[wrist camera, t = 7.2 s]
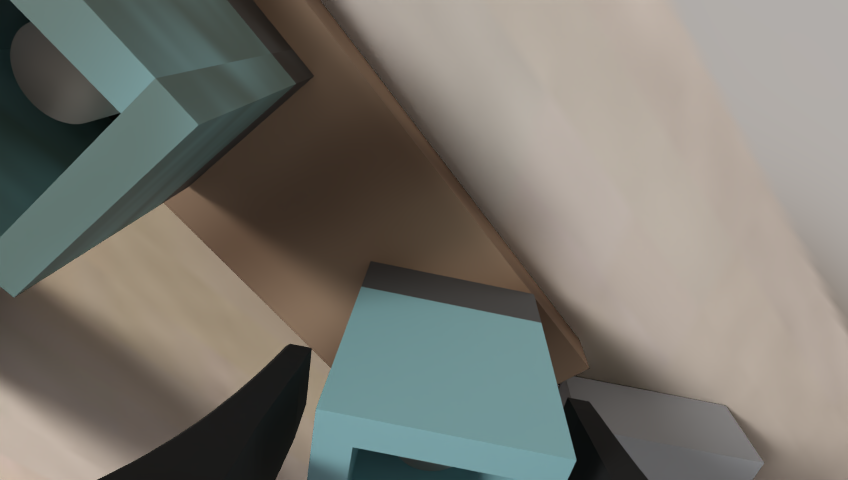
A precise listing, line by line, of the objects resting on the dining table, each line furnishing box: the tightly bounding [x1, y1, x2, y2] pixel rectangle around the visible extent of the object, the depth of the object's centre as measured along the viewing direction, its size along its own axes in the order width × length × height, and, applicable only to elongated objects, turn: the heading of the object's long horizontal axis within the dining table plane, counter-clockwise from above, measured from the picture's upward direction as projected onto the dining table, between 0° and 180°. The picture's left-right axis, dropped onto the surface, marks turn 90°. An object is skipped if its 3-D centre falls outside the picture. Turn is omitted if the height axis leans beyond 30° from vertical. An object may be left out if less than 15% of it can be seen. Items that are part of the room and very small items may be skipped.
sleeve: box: [307, 261, 576, 480], centre depth 13 cm, size 5×5×6 cm
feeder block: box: [559, 376, 764, 480], centre depth 18 cm, size 6×6×2 cm
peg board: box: [0, 0, 589, 471], centre depth 12 cm, size 18×7×8 cm, turn 38°
